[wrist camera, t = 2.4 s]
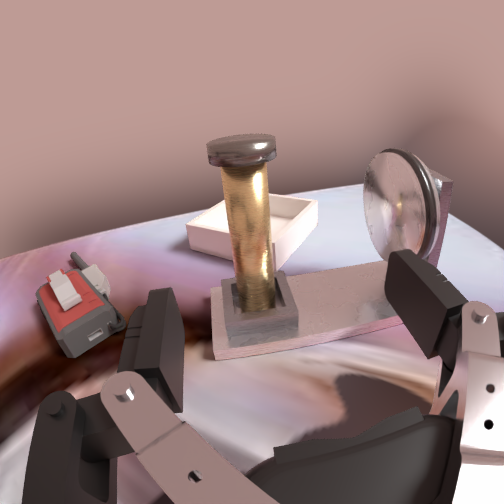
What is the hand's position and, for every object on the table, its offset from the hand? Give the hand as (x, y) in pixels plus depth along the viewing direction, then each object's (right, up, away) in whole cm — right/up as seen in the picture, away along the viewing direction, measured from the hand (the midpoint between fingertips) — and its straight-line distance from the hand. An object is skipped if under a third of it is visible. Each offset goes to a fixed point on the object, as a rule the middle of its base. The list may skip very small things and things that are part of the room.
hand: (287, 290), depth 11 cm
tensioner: (+5, -4, +16) cm, 18 cm away
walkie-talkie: (-21, -5, +20) cm, 30 cm away
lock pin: (-1, -4, +15) cm, 16 cm away
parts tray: (-1, +3, +29) cm, 29 cm away
